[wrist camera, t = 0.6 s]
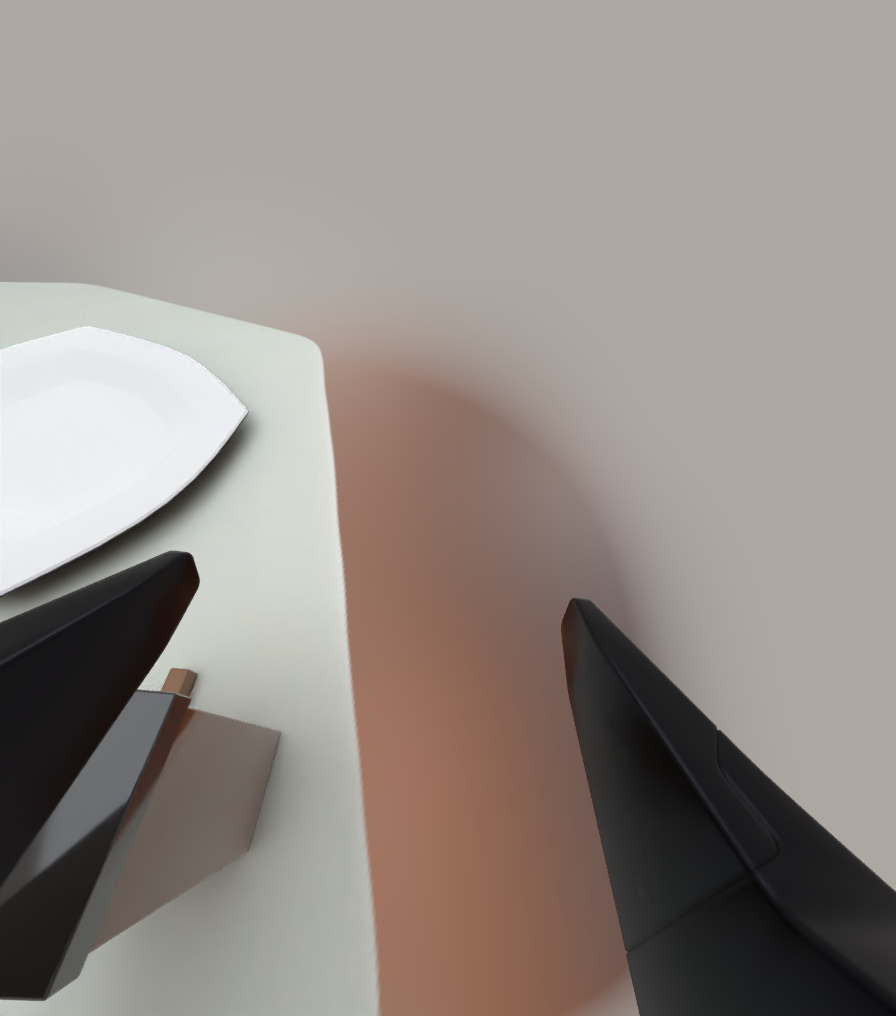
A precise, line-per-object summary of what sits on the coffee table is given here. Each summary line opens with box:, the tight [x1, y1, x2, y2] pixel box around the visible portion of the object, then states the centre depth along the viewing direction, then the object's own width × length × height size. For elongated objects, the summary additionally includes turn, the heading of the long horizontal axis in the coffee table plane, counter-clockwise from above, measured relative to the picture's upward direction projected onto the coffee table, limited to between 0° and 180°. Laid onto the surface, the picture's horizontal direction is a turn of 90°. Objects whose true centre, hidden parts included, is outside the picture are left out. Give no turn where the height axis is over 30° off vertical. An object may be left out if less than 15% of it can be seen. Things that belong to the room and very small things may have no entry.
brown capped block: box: [0, 689, 281, 1001], centre depth 14 cm, size 5×5×13 cm
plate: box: [0, 326, 248, 597], centre depth 28 cm, size 23×23×2 cm
